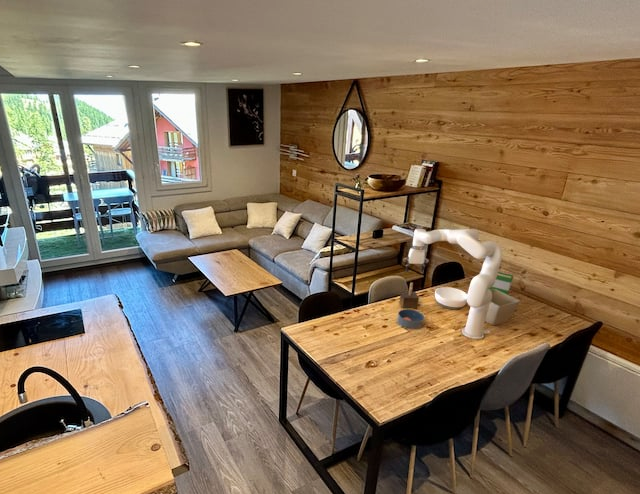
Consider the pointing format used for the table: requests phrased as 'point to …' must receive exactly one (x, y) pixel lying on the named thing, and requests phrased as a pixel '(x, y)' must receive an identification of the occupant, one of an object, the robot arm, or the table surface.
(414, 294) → the stick holder
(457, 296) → the bowl
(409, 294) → the stick
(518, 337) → the table surface
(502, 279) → the green and white carton
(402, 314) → the mixing bowl
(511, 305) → the flower pot
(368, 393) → the table surface
